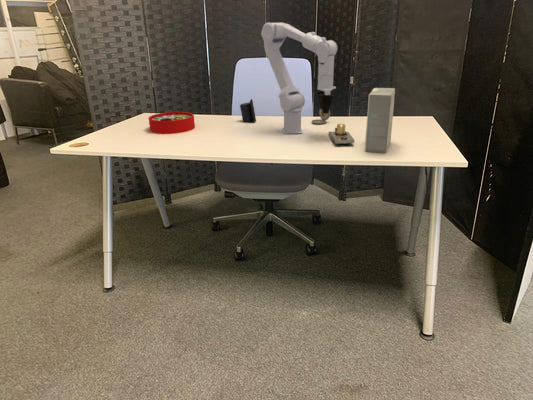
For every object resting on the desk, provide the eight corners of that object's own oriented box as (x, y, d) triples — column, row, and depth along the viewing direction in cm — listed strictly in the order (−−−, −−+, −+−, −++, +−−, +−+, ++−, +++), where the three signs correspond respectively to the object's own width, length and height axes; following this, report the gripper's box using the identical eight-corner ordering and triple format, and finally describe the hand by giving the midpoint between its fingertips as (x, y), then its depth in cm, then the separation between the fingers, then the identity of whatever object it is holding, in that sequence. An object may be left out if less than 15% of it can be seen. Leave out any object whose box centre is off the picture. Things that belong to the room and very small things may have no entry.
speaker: (260, 120, 189) (257, 98, 185) (254, 123, 184) (251, 101, 180) (246, 120, 192) (243, 99, 188) (240, 123, 188) (237, 101, 184)
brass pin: (335, 139, 155) (336, 124, 152) (343, 139, 155) (344, 123, 152) (336, 141, 152) (337, 125, 149) (345, 141, 152) (346, 125, 149)
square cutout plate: (328, 134, 161) (328, 127, 160) (345, 134, 161) (345, 126, 160) (335, 146, 145) (335, 138, 144) (354, 146, 145) (354, 138, 144)
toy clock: (188, 110, 188) (198, 118, 171) (190, 122, 190) (199, 131, 173) (146, 114, 181) (151, 123, 164) (147, 126, 184) (153, 136, 167)
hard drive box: (370, 140, 152) (374, 87, 144) (390, 142, 149) (396, 88, 141) (363, 151, 139) (368, 93, 131) (386, 153, 136) (392, 94, 128)
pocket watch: (310, 124, 179) (310, 102, 175) (314, 120, 187) (314, 99, 182) (327, 125, 177) (328, 102, 173) (331, 121, 184) (332, 99, 180)
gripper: (339, 76, 142) (337, 114, 147) (333, 72, 155) (332, 107, 160) (319, 77, 142) (318, 115, 147) (315, 73, 155) (314, 107, 160)
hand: (324, 111), depth 154 cm, fingers open, 7 cm apart
